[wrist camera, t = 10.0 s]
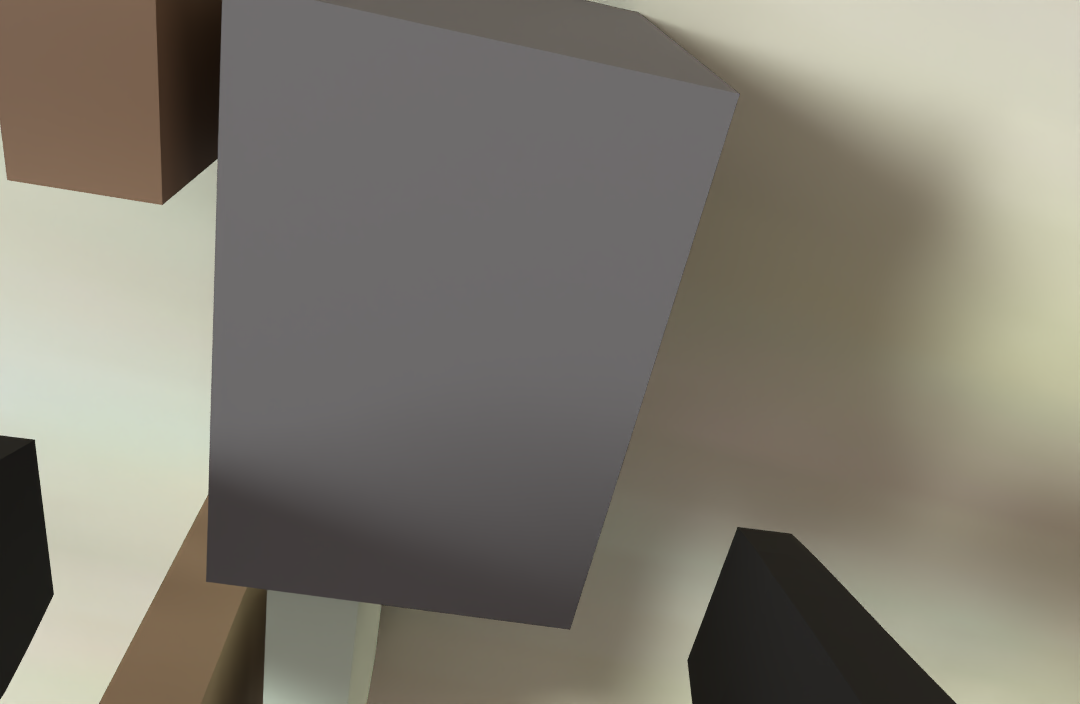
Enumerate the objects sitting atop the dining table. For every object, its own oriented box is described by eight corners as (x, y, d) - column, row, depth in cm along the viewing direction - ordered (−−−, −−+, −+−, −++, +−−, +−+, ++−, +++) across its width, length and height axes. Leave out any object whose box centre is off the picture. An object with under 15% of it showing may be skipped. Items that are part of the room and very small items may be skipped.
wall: (282, 711, 18) (190, 1032, 13) (228, 705, 18) (113, 1028, 13) (325, -78, 11) (153, -67, 6) (234, -96, 11) (-28, -101, 6)
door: (421, 667, 17) (386, 957, 13) (326, 657, 17) (253, 948, 12) (471, 364, 14) (449, 605, 9) (354, 348, 14) (267, 584, 9)
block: (549, 368, 15) (570, 629, 9) (321, 329, 14) (206, 582, 9) (638, 12, 12) (740, 93, 6) (358, -53, 11) (223, -20, 6)
